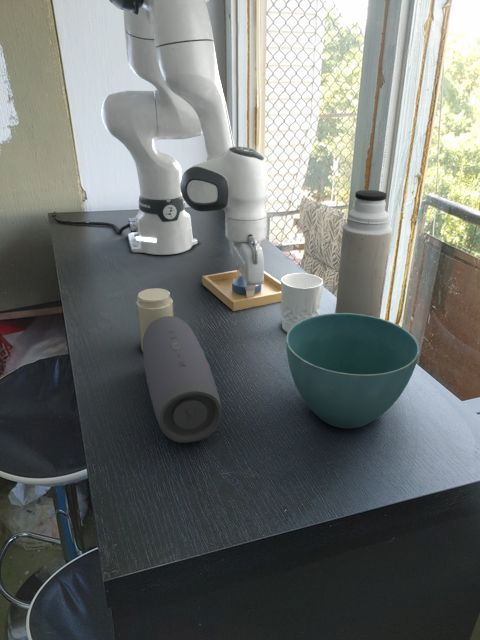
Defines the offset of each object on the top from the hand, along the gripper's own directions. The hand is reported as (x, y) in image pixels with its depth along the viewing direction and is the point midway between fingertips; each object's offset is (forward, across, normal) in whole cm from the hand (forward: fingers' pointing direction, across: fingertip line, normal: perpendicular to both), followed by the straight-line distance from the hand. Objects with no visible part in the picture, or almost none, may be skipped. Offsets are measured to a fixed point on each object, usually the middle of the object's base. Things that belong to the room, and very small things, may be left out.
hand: (246, 289), depth 118 cm
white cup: (+1, -20, -7) cm, 21 cm away
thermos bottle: (+1, -29, -14) cm, 32 cm away
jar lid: (-1, 0, 0) cm, 1 cm away
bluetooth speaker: (+1, -41, +18) cm, 45 cm away
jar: (+1, -22, +21) cm, 31 cm away
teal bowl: (+1, -48, -5) cm, 48 cm away
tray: (+1, 0, 0) cm, 1 cm away
